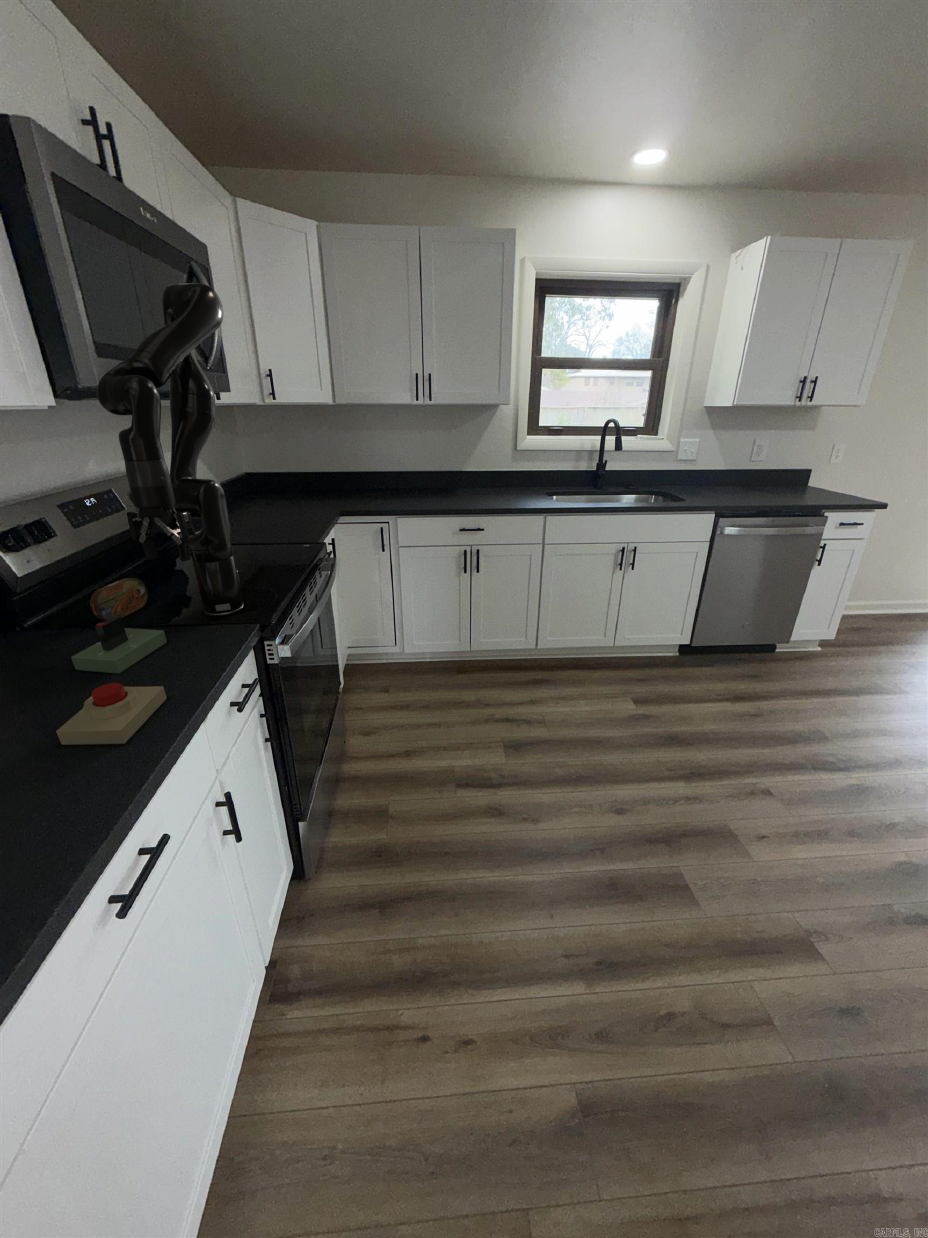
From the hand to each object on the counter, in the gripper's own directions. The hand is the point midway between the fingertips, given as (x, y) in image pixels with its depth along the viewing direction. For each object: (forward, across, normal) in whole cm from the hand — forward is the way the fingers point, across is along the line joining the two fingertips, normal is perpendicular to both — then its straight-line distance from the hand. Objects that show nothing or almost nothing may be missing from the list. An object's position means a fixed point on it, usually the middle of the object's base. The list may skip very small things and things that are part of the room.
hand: (169, 559), depth 107 cm
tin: (+18, +26, -8) cm, 32 cm away
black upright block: (+16, +7, +12) cm, 21 cm away
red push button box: (+20, -11, +30) cm, 38 cm away
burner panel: (+19, +7, +11) cm, 23 cm away
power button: (+16, -12, +30) cm, 36 cm away
